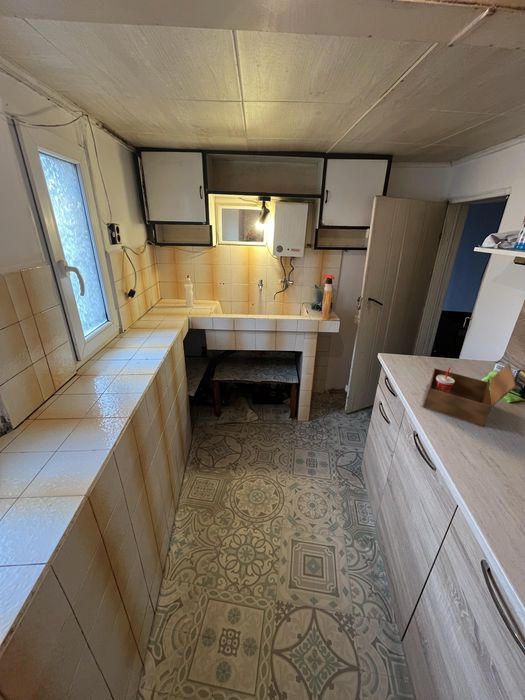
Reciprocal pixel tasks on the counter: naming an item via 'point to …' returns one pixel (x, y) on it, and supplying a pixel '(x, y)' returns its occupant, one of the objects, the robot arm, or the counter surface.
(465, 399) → the brown open-topped box
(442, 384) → the beverage cup
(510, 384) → the flap
